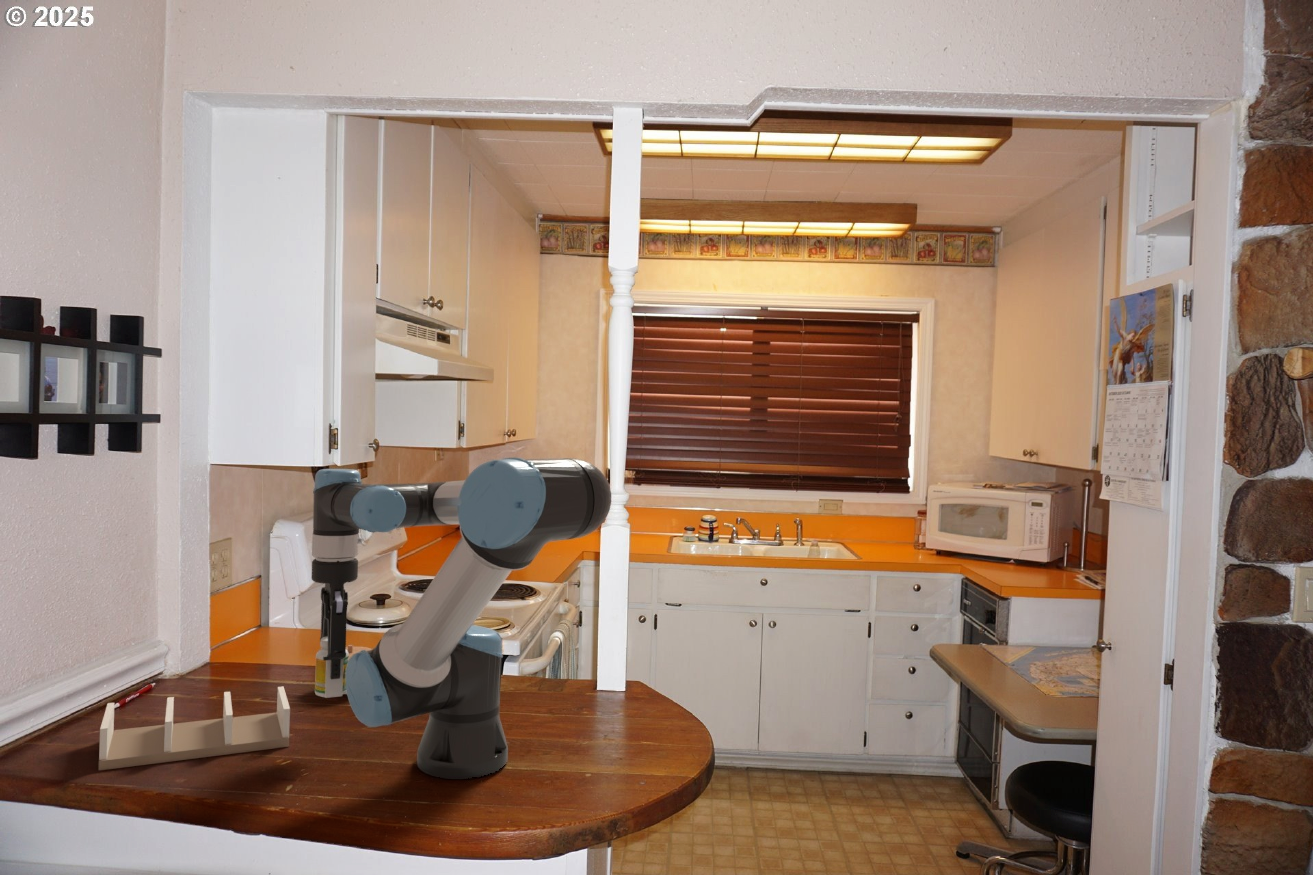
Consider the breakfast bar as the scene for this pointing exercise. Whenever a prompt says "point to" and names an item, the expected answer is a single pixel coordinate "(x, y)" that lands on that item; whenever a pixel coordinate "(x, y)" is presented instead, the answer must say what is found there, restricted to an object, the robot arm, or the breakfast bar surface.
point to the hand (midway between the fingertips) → (331, 690)
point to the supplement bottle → (321, 668)
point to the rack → (193, 736)
